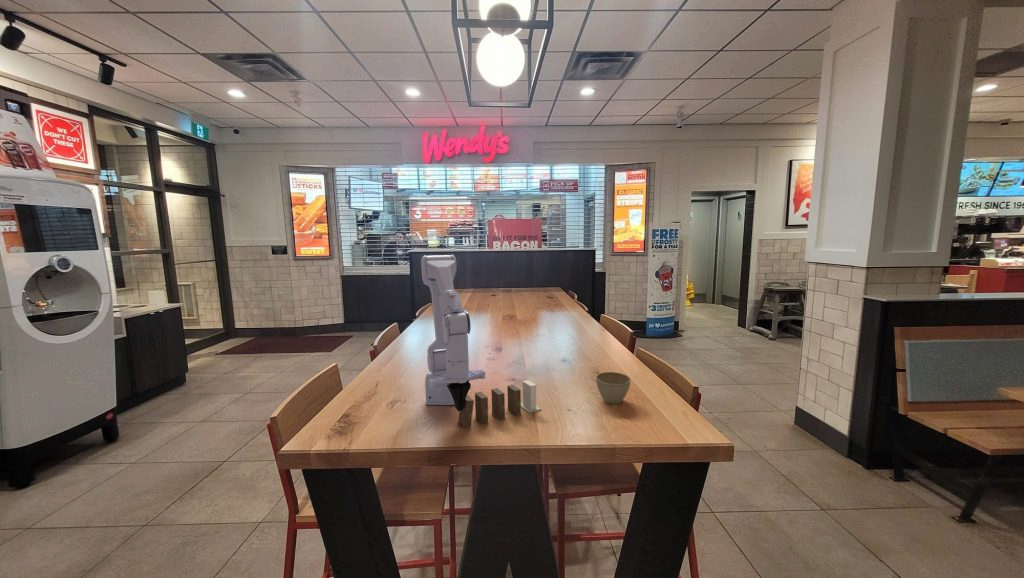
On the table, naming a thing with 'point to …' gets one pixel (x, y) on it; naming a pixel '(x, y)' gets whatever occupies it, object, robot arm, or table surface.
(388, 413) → the table surface
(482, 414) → the domino
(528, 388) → the domino
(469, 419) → the domino
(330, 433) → the table surface
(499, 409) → the domino
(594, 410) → the table surface
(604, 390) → the flower pot
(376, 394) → the table surface
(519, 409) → the domino
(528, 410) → the pad
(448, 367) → the robot arm
